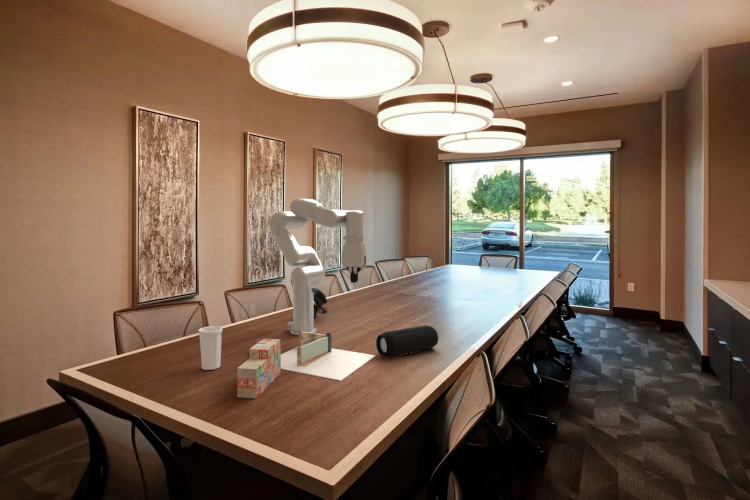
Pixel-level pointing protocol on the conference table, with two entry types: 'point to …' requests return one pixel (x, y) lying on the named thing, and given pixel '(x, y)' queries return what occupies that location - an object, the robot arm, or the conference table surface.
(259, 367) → the stack of blocks
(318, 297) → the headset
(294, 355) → the card
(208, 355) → the cup
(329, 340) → the fixed fence section
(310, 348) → the folding fence panel
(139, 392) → the conference table surface
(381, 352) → the portable speaker
